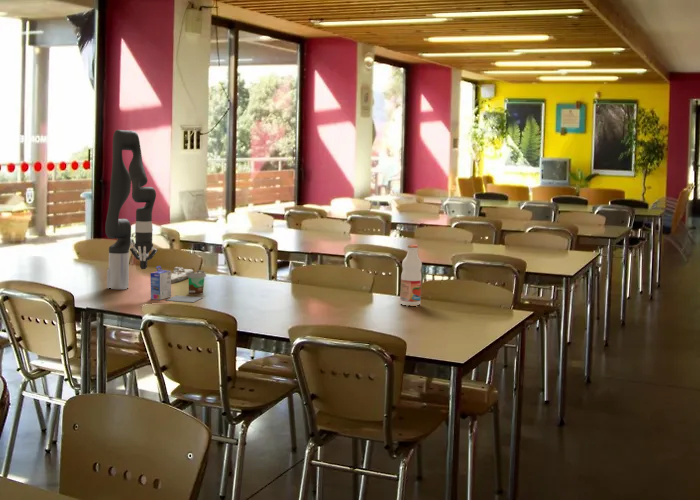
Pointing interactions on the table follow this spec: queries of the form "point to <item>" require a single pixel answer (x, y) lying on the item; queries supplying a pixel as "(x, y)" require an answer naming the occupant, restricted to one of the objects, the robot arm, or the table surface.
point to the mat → (184, 299)
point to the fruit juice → (411, 278)
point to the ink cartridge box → (160, 284)
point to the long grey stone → (180, 274)
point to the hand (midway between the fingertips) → (143, 269)
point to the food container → (196, 282)
